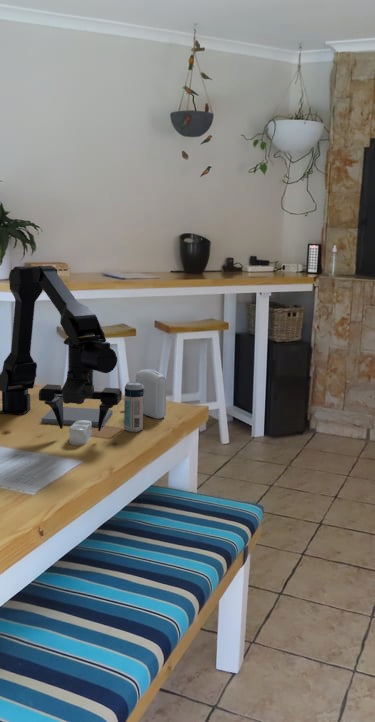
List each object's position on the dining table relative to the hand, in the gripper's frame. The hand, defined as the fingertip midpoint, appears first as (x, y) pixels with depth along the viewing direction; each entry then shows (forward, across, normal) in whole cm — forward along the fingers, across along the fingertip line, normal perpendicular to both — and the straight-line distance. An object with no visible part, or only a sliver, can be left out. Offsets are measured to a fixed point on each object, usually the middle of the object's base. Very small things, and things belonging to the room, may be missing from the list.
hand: (80, 429), depth 165 cm
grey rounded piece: (+3, 0, +1) cm, 3 cm away
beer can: (+3, +11, +10) cm, 15 cm away
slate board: (+2, -5, +17) cm, 18 cm away
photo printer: (+3, +13, +25) cm, 28 cm away
